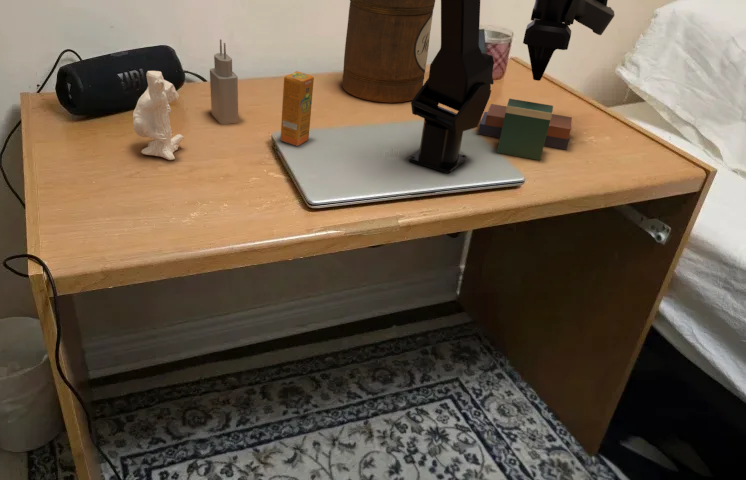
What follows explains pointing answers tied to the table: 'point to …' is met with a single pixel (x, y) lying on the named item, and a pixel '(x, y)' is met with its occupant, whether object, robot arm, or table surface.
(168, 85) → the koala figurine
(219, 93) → the power adapter
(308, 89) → the supplement box
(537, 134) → the tea box
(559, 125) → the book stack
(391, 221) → the table surface
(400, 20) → the wooden container
